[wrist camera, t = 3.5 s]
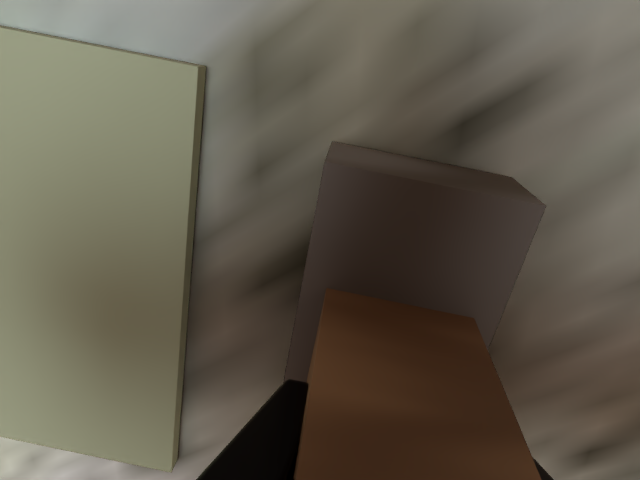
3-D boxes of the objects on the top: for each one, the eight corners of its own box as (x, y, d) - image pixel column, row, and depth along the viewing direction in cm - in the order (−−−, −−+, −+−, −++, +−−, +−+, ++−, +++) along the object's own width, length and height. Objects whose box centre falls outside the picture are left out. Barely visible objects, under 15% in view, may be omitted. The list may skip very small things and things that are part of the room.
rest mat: (206, 65, 10) (198, 66, 9) (177, 459, 14) (171, 472, 14) (-240, -22, 10) (-270, -26, 9) (-123, 396, 15) (-139, 407, 14)
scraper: (511, 177, 10) (966, 559, 2) (415, 442, 13) (484, 958, 6) (332, 141, 10) (235, 406, 2) (280, 414, 13) (169, 889, 6)
